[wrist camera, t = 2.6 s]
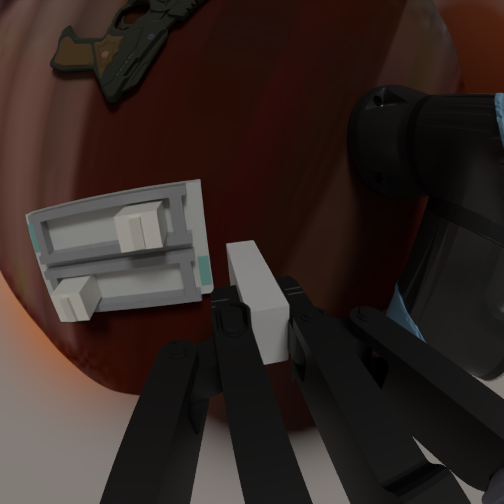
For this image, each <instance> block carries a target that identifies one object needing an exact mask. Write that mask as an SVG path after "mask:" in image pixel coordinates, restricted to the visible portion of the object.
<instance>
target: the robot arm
mask: <svg viewBox="0 0 504 504" xmlns="http://www.w3.org/2000/svg"><path fill="white" fill-rule="evenodd" d="M348 140H349V148H350V153H351V157H352V160H353V163H354V165H355V167H356V169H357V171H358V173H359V175H360V176H361V178H362V179H363V180H364V181H365V182H366V183H367V185H369V186H370V187H371V188H372V189H374V190H375V191H377V192H379V193H381V194H384V195H387V196H389V197H392V198H397V199H409V198H418V197H427V196H429V199H428V202H427V205H426V209H425V211H424V214H423V217H422V221H421V224H420V227H419V230H418V233H417V235H416V238H415V241H414V244H413V247H412V249H411V252H410V255H409V257H408V260H407V262H406V265H405V267H404V270H403V272H402V275H401V277H400V279H399V280H398V281H397V283H396V286H395V292H394V295H393V298H392V300H391V303H390V305H389V307H388V310H387V312H386V315H385V314H383V313H382V312H380V311H379V310H377V309H375V308H373V307H369V306H359V307H356V308H354V309H352V310H351V312H350V314H349V317H340V318H337V317H330V316H329V314H328V313H327V312H326V311H325V310H323V309H321V308H318V307H314V305H313V304H312V302H311V301H310V300H309V298H308V297H307V295H306V294H305V292H304V291H303V289H302V288H301V287H300V285H299V284H298V282H297V281H296V280H295V279H293V278H291V277H289V276H286V277H280V278H274V277H273V275H272V273H271V271H270V270H269V268H268V266H267V264H266V262H265V261H264V259H263V257H262V255H261V253H260V252H259V250H258V248H257V246H256V245H255V243H254V241H253V240H252V241H244V242H236V243H229V244H226V247H227V256H228V266H229V275H230V284H231V286H223V287H216V288H214V289H213V291H212V292H211V294H210V295H211V304H212V313H211V316H212V322H213V328H214V332H213V334H212V336H211V337H210V338H209V339H207V340H206V341H204V342H202V343H199V344H197V345H194V343H192V342H190V341H188V340H183V339H180V340H173V341H170V342H168V343H166V344H165V345H163V346H162V348H161V349H160V350H159V352H158V354H157V357H156V359H155V361H154V364H153V366H152V368H151V371H150V373H149V375H148V378H147V380H146V382H145V385H144V387H143V389H142V392H141V394H140V397H139V399H138V402H137V404H136V406H135V409H134V411H133V414H132V416H131V419H130V421H129V424H128V427H127V429H126V432H125V434H124V437H123V439H122V442H121V445H120V447H119V450H118V453H117V455H116V458H115V461H114V464H113V466H112V469H111V472H110V475H109V477H108V481H107V483H106V486H105V489H104V492H103V495H102V498H101V501H100V504H190V500H191V495H192V489H193V484H194V479H195V473H196V468H197V462H198V457H199V452H200V446H201V442H202V436H203V431H204V426H205V421H206V416H207V411H208V405H209V400H210V399H209V397H212V396H214V395H217V394H219V393H221V392H223V394H224V399H225V406H226V411H227V417H228V423H229V428H230V434H231V439H232V445H233V450H234V455H235V459H236V465H237V469H238V474H239V478H240V483H241V488H242V492H243V496H244V501H245V504H313V503H312V501H311V498H310V495H309V492H308V490H307V487H306V484H305V482H304V479H303V476H302V473H301V471H300V468H299V465H298V463H297V460H296V457H295V454H294V451H293V448H292V446H291V443H290V440H289V437H288V434H287V432H286V428H285V426H284V423H283V420H282V417H281V415H280V411H279V409H278V405H277V402H276V399H275V396H274V393H273V391H272V388H271V385H270V382H269V379H268V376H267V372H266V369H265V366H264V365H265V364H270V363H275V362H280V361H285V360H288V350H289V353H290V355H291V357H292V367H291V381H294V376H295V377H296V379H297V381H298V384H299V386H300V388H301V390H302V393H303V395H304V398H305V400H306V402H307V405H308V407H309V409H310V412H311V414H312V416H313V418H314V421H315V423H316V426H317V428H318V430H319V433H320V435H321V437H322V440H323V442H324V444H325V447H326V449H327V451H328V453H329V456H330V458H331V460H332V463H333V465H334V467H335V470H336V472H337V474H338V476H339V479H340V481H341V483H342V485H343V488H344V490H345V492H346V494H347V496H348V499H349V501H350V504H471V503H470V501H469V499H468V498H467V496H466V494H465V493H464V491H463V490H462V488H461V486H460V485H459V483H458V482H457V480H456V479H455V477H454V475H453V474H452V473H451V471H452V472H453V473H454V474H455V475H456V476H457V477H459V478H460V479H461V480H462V481H464V482H465V483H466V484H468V485H470V486H472V487H474V488H476V489H478V490H481V491H484V492H485V493H484V495H483V496H482V503H483V504H504V399H503V398H502V397H500V396H499V395H498V394H496V393H495V392H494V391H492V390H491V389H490V388H488V387H487V386H485V385H484V384H483V383H481V382H480V381H479V380H477V379H476V378H475V377H473V376H476V377H478V378H481V379H483V380H485V381H489V382H490V381H494V380H497V379H499V378H501V377H502V376H504V94H503V93H497V94H440V95H429V94H426V93H424V92H421V91H418V90H415V89H412V88H409V87H406V86H402V85H386V86H380V87H376V88H373V89H371V90H369V91H368V92H366V93H365V94H364V95H363V96H362V97H361V98H360V99H359V101H358V102H357V104H356V105H355V107H354V109H353V112H352V114H351V118H350V122H349V130H348ZM454 222H455V223H454ZM471 230H472V231H471ZM473 231H474V232H473ZM374 352H376V353H377V354H379V355H380V357H379V358H378V357H376V356H375V355H374ZM470 374H471V375H470ZM472 375H473V376H472ZM412 436H413V437H414V438H415V439H416V440H417V441H419V443H421V444H422V445H423V446H424V447H425V448H426V449H427V450H428V451H429V452H430V453H432V454H433V455H434V456H435V457H436V458H437V459H438V460H439V461H440V462H442V463H443V464H444V465H445V466H446V467H445V466H444V465H441V464H432V463H430V462H429V461H428V460H427V459H426V457H425V456H424V454H423V453H422V451H421V449H420V448H419V446H418V445H417V443H416V442H415V440H414V439H413V437H412ZM450 470H451V471H450Z"/></svg>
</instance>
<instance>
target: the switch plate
mask: <svg viewBox="0 0 504 504" xmlns="http://www.w3.org/2000/svg"><path fill="white" fill-rule="evenodd" d="M158 199H163V200H164V207H165V214H166V220H167V227H168V232H167V235H166V238H165V241H164V244H163V247H160V248H152V249H145V250H138V251H131V252H124V253H121V248H120V244H119V240H118V235H117V231H116V226H115V221H114V216H115V215H117V214H118V213H119V212H120V211H121V210H122V209H123V208H124V207H125V206H126V205H127V204H133V203H139V202H146V201H152V200H158ZM26 220H27V224H28V228H29V232H30V236H31V239H32V243H33V247H34V250H35V253H36V257H37V260H38V263H39V266H40V269H41V272H42V275H43V278H44V280H45V283H46V286H47V289H48V291H49V294H50V295H51V294H52V293H53V292H54V290H55V289H56V288H57V286H58V285H59V284H60V283H61V281H62V280H63V279H64V278H65V277H73V276H81V275H89V274H94V275H95V278H96V281H97V284H98V288H99V291H100V294H101V298H100V300H99V302H98V304H97V306H96V308H95V310H94V312H102V311H113V310H124V309H134V308H144V307H154V306H163V305H171V304H180V303H188V302H196V301H202V294H205V293H211V292H212V291H213V289H214V287H213V280H212V273H211V266H210V259H209V251H208V243H207V235H206V227H205V219H204V210H203V201H202V192H201V182H200V179H198V180H190V181H182V182H175V183H168V184H161V185H155V186H149V187H143V188H137V189H131V190H125V191H120V192H115V193H110V194H104V195H100V196H95V197H90V198H85V199H81V200H76V201H72V202H68V203H64V204H59V205H55V206H51V207H47V208H44V209H40V210H36V211H32V212H30V213H28V214H26Z"/></svg>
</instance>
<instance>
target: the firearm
mask: <svg viewBox="0 0 504 504" xmlns="http://www.w3.org/2000/svg"><path fill="white" fill-rule="evenodd" d="M203 1H204V0H128V3H127V4H126V5H125V6H123V7H122V8H121V9H120V10H119V11H118V12H117V14H116V15H115V17H114V19H113V21H112V24H111V26H110V27H109V28H108V31H107V34H106V35H105V36H104V37H103V38H78V37H76V35H75V33H74V32H73V29H72V27H71V26H68V27H66V28H65V29H64V30H63V32H62V34H61V36H60V38H59V43H58V48H57V52H56V53H55V55H54V57H53V58H52V60H51V62H50V66H51V67H52V68H55V69H57V70H60V71H62V72H78V71H94V72H95V74H96V76H97V78H98V80H99V82H100V84H101V85H100V86H101V88H102V89H101V90H102V92H103V94H104V96H105V98H106V100H107V101H108V102H110V103H115V102H117V101H118V100H119V99H120V97H121V96H122V94H123V92H124V93H125V92H127V91H128V90H130V89H132V88H133V87H135V86H137V85H138V84H139V82H140V80H141V79H142V77H143V75H144V74H145V72H146V71H147V69H148V67H149V66H150V64H151V63H152V61H153V60H154V58H155V56H156V55H157V53H158V52H159V50H160V49H161V47H162V46H163V44H164V43H165V41H166V40H167V38H168V30H169V29H170V27H171V26H172V25H173V24H174V23H175V22H176V21H177V20H179V21H184V20H185V19H186V18H187V17H188V16H189V14H191V13H192V12H193V9H196V8H197V5H198V6H199V5H200V4H201V3H202V2H203ZM139 5H148V6H150V9H149V11H148V12H147V13H146V14H145V15H143V16H141V17H139V18H138V19H137V20H136V21H135V23H134V24H133V25H128V24H125V23H124V19H125V16H123V18H122V20H121V24H120V25H121V30H118V29H116V25H117V22H118V20H119V18H120V17H121V15H122V14H123V13H124V12H125V11H127V10H129V9H130V8H132V7H137V6H139ZM190 11H191V12H190Z"/></svg>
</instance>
